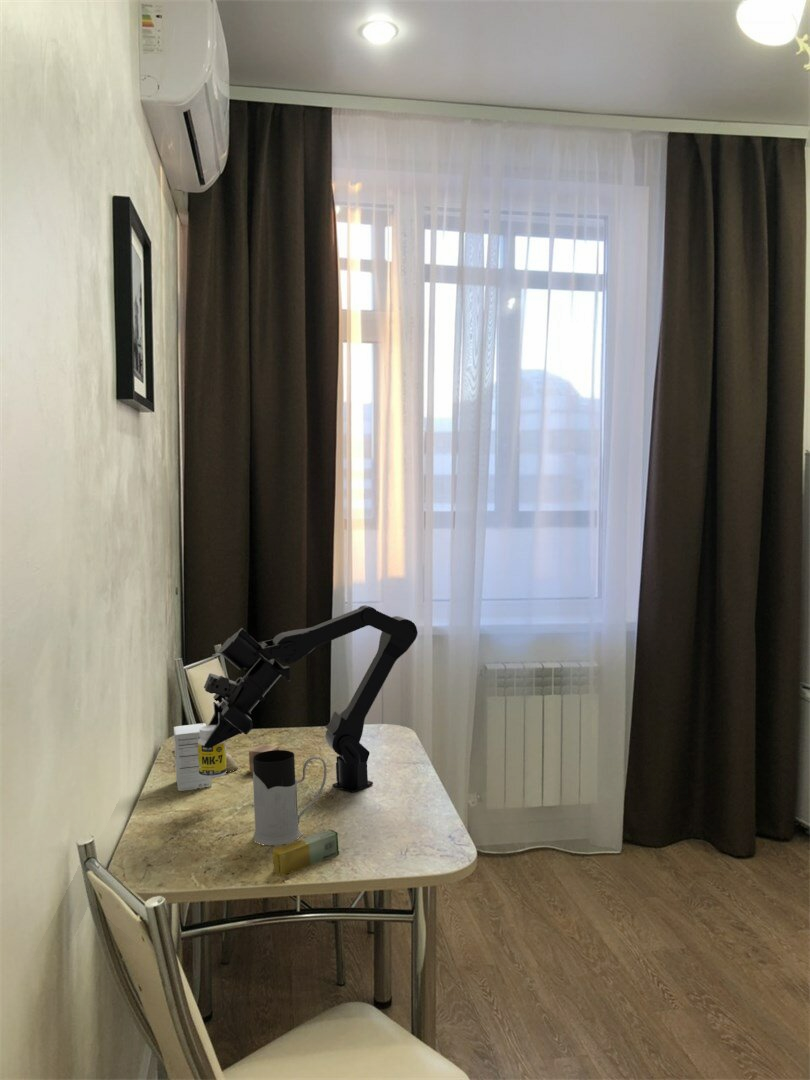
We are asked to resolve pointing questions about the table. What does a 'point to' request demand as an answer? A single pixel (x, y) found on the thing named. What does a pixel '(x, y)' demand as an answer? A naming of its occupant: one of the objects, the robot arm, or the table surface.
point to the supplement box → (188, 757)
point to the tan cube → (259, 750)
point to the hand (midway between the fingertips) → (204, 743)
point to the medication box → (305, 852)
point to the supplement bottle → (211, 755)
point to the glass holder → (277, 797)
